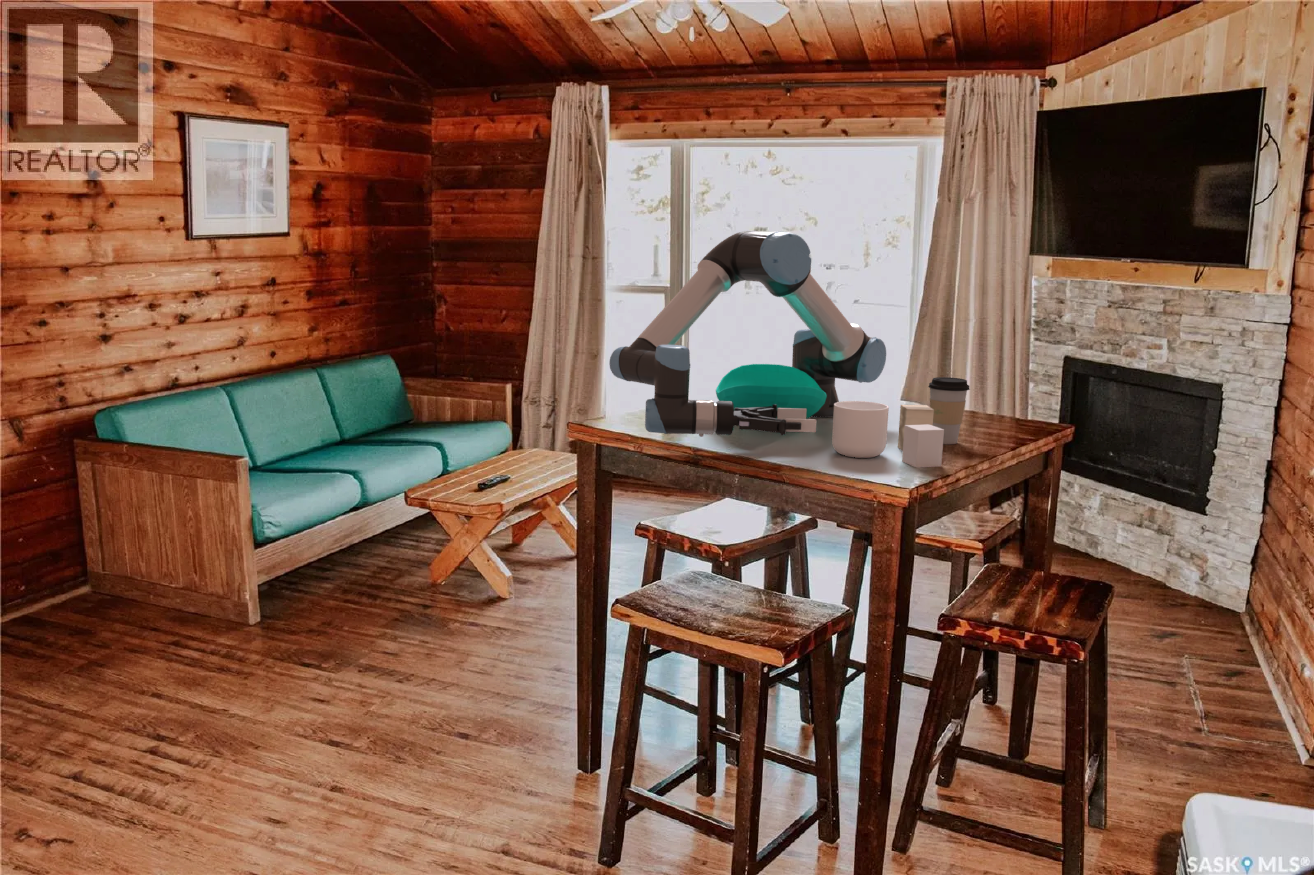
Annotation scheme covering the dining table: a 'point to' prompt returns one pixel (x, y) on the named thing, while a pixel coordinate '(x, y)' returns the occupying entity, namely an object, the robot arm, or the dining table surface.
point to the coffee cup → (948, 405)
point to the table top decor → (771, 388)
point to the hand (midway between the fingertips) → (811, 420)
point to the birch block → (913, 418)
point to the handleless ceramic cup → (860, 428)
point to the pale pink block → (923, 445)
